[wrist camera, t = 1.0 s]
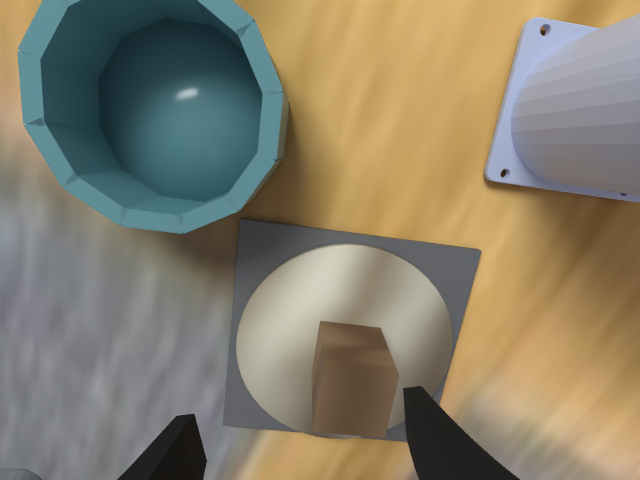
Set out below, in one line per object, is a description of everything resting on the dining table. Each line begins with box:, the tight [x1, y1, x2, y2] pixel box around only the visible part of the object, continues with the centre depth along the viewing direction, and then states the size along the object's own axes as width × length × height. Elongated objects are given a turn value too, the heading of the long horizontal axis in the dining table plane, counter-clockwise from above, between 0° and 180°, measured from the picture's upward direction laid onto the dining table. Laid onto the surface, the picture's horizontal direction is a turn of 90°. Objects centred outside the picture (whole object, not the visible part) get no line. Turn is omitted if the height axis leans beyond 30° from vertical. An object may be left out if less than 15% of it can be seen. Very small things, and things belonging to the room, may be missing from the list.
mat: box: [223, 218, 482, 442], centre depth 21 cm, size 14×14×1 cm
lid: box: [236, 243, 453, 439], centre depth 19 cm, size 13×13×5 cm
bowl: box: [18, 0, 290, 234], centre depth 16 cm, size 10×10×4 cm
